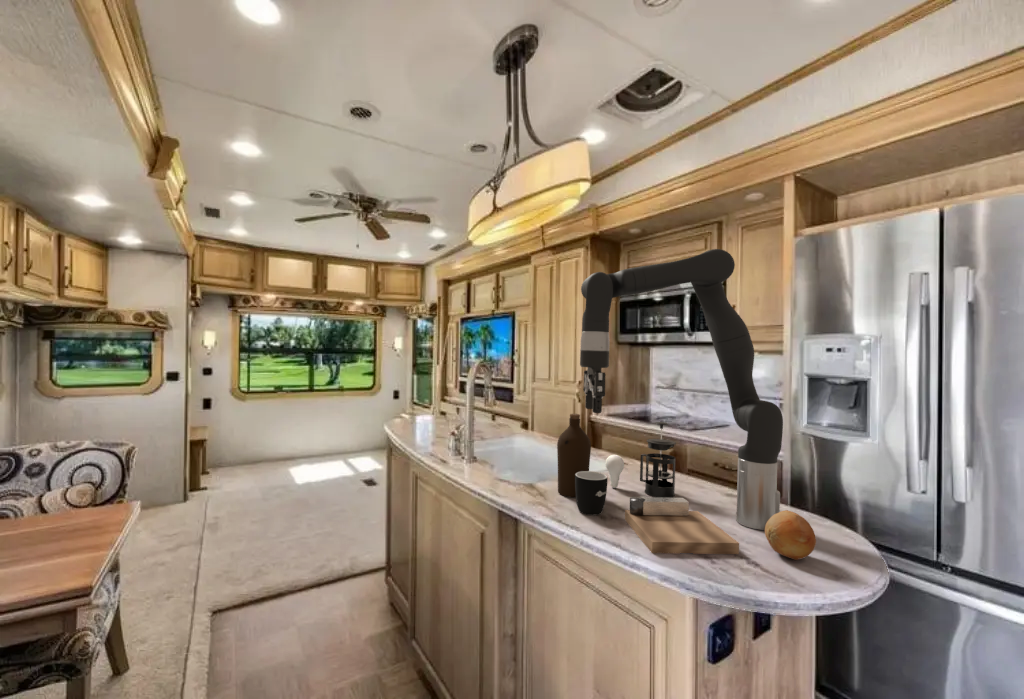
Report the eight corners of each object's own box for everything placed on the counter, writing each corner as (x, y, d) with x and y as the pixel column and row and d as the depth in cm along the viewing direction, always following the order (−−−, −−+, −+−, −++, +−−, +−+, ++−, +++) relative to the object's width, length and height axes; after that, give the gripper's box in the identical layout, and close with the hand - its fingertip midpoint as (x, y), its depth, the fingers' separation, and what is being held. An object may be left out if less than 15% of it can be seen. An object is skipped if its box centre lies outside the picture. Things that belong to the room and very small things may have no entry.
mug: (596, 519, 118) (597, 481, 118) (568, 511, 124) (569, 474, 124) (617, 508, 127) (618, 473, 127) (590, 501, 133) (591, 467, 133)
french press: (681, 493, 143) (683, 422, 143) (671, 501, 135) (673, 426, 135) (645, 486, 150) (647, 418, 150) (634, 492, 142) (637, 421, 142)
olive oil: (590, 499, 134) (593, 417, 134) (555, 497, 135) (558, 415, 135) (588, 488, 145) (590, 412, 145) (555, 487, 146) (558, 411, 146)
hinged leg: (632, 515, 114) (632, 501, 114) (627, 509, 118) (627, 496, 118) (688, 515, 115) (689, 502, 115) (682, 510, 119) (682, 497, 119)
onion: (754, 550, 102) (755, 507, 102) (782, 544, 106) (783, 502, 106) (795, 570, 93) (797, 522, 93) (825, 562, 97) (826, 517, 97)
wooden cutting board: (697, 520, 120) (697, 511, 120) (738, 554, 100) (739, 542, 100) (624, 519, 119) (625, 510, 119) (651, 553, 99) (652, 542, 99)
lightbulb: (609, 484, 151) (610, 451, 151) (626, 487, 147) (627, 455, 147) (601, 487, 146) (602, 454, 146) (618, 492, 143) (619, 457, 143)
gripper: (616, 349, 109) (614, 414, 109) (602, 350, 124) (600, 407, 124) (586, 348, 109) (584, 414, 109) (575, 349, 123) (573, 407, 123)
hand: (593, 410), depth 116 cm, fingers open, 8 cm apart
